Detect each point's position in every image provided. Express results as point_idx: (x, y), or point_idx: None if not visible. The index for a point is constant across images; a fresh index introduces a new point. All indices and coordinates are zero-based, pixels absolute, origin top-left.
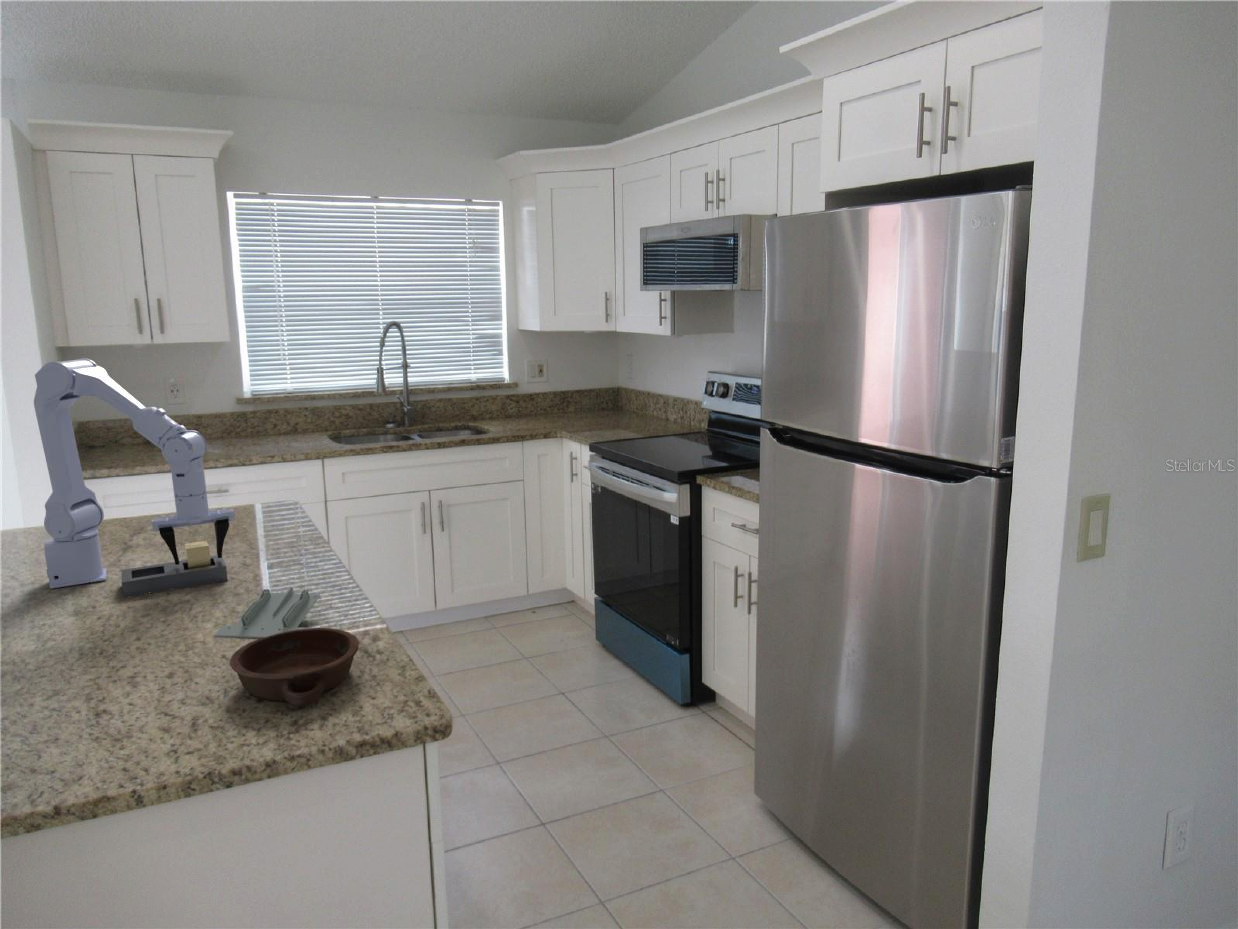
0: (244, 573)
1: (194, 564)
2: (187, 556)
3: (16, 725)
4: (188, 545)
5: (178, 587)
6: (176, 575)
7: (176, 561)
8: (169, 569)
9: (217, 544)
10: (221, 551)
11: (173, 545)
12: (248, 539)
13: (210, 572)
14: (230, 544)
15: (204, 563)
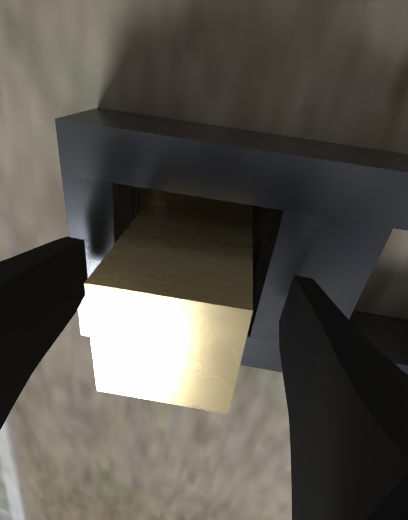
0: (25, 174)
1: (218, 237)
2: (250, 273)
3: None
4: (215, 373)
5: (328, 144)
6: (348, 162)
7: (313, 285)
8: (340, 279)
9: (31, 294)
10: (39, 248)
11: (360, 362)
12: (36, 466)
13: (156, 128)
14: (78, 463)
15: (165, 228)
